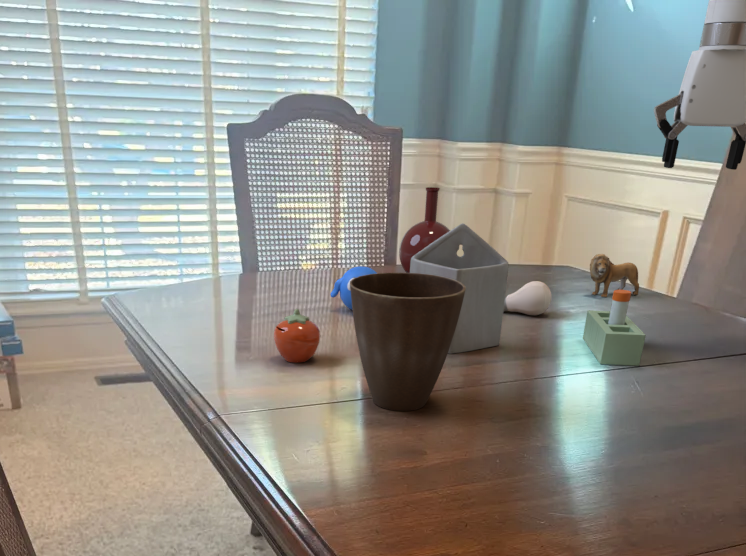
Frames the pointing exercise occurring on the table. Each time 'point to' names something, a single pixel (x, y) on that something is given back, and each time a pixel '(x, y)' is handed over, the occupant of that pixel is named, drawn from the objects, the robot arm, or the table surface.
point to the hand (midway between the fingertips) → (699, 168)
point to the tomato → (296, 338)
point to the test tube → (619, 307)
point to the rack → (613, 339)
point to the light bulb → (529, 299)
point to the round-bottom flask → (422, 231)
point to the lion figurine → (612, 274)
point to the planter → (469, 284)
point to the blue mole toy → (344, 283)
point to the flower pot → (404, 333)
